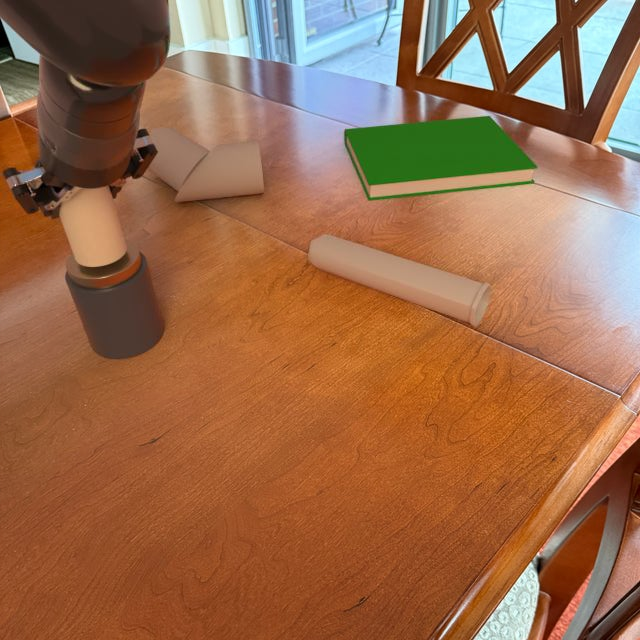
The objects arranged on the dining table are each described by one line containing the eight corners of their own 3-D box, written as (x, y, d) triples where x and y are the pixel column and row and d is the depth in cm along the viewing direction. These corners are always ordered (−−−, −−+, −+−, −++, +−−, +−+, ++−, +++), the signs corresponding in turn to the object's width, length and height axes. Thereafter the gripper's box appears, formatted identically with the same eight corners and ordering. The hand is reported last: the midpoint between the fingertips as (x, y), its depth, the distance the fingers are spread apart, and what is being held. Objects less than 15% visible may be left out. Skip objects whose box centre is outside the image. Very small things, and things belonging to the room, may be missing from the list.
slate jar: (106, 370, 69) (77, 292, 62) (79, 330, 75) (49, 254, 68) (176, 337, 73) (157, 260, 66) (146, 302, 79) (124, 227, 72)
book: (534, 183, 100) (537, 166, 98) (368, 200, 97) (368, 183, 95) (486, 129, 117) (488, 114, 115) (344, 143, 114) (344, 127, 112)
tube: (296, 249, 80) (473, 310, 69) (317, 221, 82) (492, 275, 71) (306, 274, 84) (473, 334, 73) (325, 246, 86) (491, 301, 75)
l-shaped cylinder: (138, 215, 94) (266, 201, 96) (124, 146, 89) (258, 133, 91) (150, 185, 109) (260, 174, 111) (138, 126, 104) (253, 115, 106)
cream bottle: (85, 273, 63) (46, 163, 55) (67, 250, 67) (28, 144, 59) (135, 254, 66) (104, 146, 58) (115, 233, 69) (83, 128, 61)
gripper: (149, 63, 52) (127, 149, 67) (-26, 106, 45) (-7, 190, 61) (188, 141, 52) (158, 209, 67) (19, 194, 46) (28, 256, 61)
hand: (80, 200), depth 64 cm, fingers closed on cream bottle, 5 cm apart
